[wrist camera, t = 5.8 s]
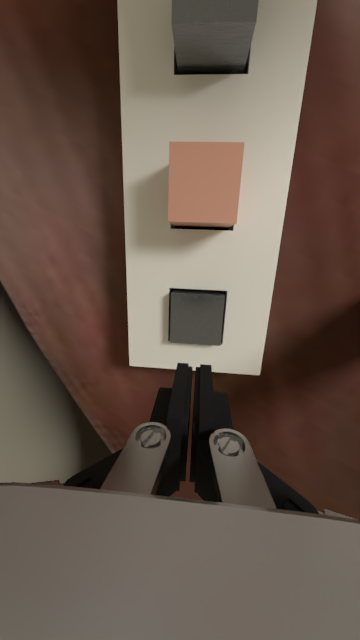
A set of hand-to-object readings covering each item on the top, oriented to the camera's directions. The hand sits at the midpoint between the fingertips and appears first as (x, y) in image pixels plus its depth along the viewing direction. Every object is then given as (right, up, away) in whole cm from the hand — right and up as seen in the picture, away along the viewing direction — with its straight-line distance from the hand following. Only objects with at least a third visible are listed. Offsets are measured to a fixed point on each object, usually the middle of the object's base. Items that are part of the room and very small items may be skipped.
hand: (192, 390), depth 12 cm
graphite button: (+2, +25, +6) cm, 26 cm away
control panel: (+2, +15, +13) cm, 20 cm away
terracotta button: (+2, +14, +10) cm, 17 cm away
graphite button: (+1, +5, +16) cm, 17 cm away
